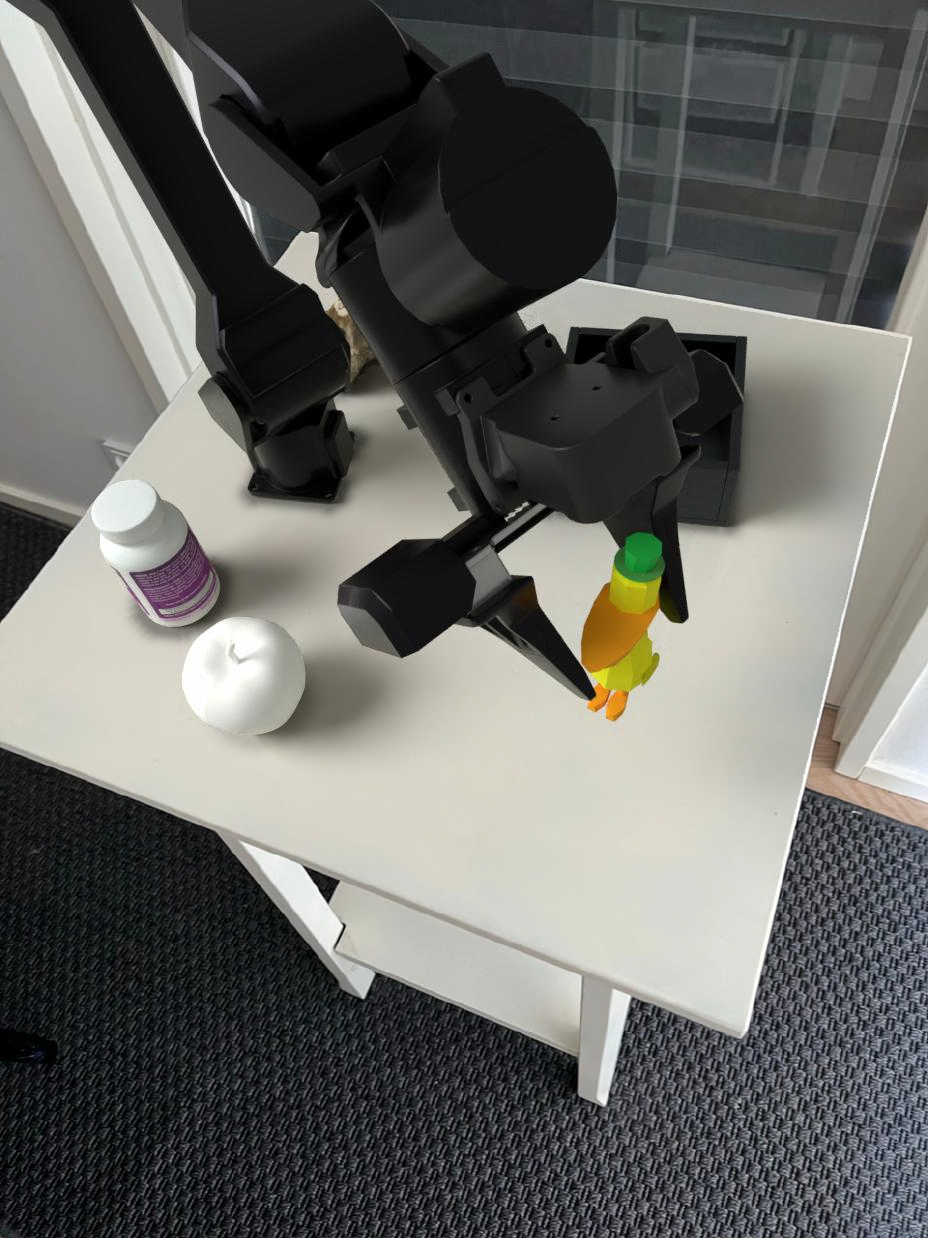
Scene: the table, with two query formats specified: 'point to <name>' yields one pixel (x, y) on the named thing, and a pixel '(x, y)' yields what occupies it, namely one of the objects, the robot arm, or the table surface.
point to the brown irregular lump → (353, 341)
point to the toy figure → (624, 625)
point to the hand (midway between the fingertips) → (635, 659)
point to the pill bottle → (155, 553)
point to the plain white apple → (244, 676)
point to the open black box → (720, 455)
